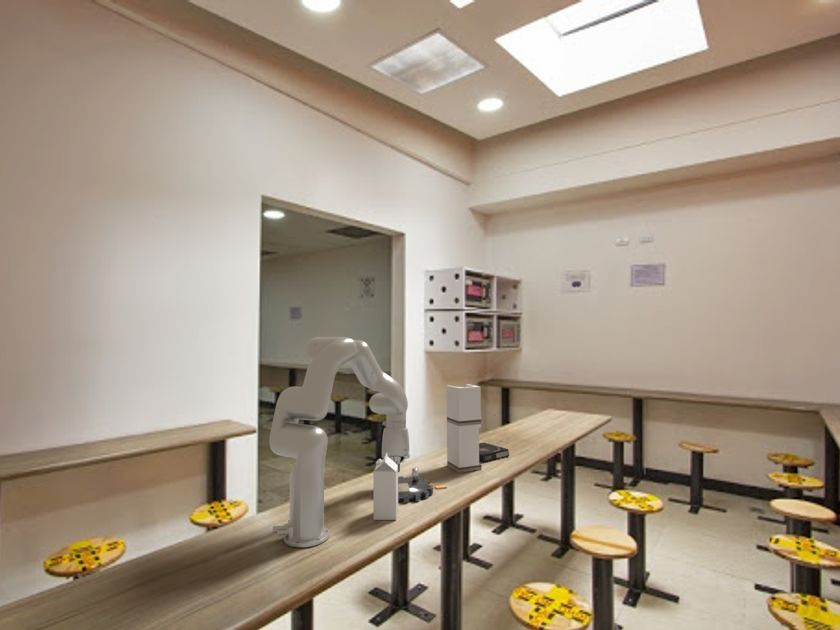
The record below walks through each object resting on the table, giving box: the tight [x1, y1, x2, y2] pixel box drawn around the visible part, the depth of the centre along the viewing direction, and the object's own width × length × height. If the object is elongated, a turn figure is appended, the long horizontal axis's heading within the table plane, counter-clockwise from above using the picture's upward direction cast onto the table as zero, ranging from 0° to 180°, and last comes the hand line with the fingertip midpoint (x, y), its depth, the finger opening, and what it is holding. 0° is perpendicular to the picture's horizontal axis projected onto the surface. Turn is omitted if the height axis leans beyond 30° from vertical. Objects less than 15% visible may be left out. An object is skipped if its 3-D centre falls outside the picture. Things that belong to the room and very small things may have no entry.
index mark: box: [434, 484, 448, 490], centre depth 170 cm, size 4×2×1 cm, turn 108°
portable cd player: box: [479, 442, 510, 464], centre depth 214 cm, size 16×17×4 cm
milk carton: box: [372, 453, 399, 521], centre depth 144 cm, size 7×7×19 cm
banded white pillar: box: [446, 383, 483, 473], centre depth 196 cm, size 11×11×35 cm
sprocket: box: [372, 467, 434, 503], centre depth 166 cm, size 22×22×6 cm
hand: (395, 473), depth 172 cm, fingers closed
